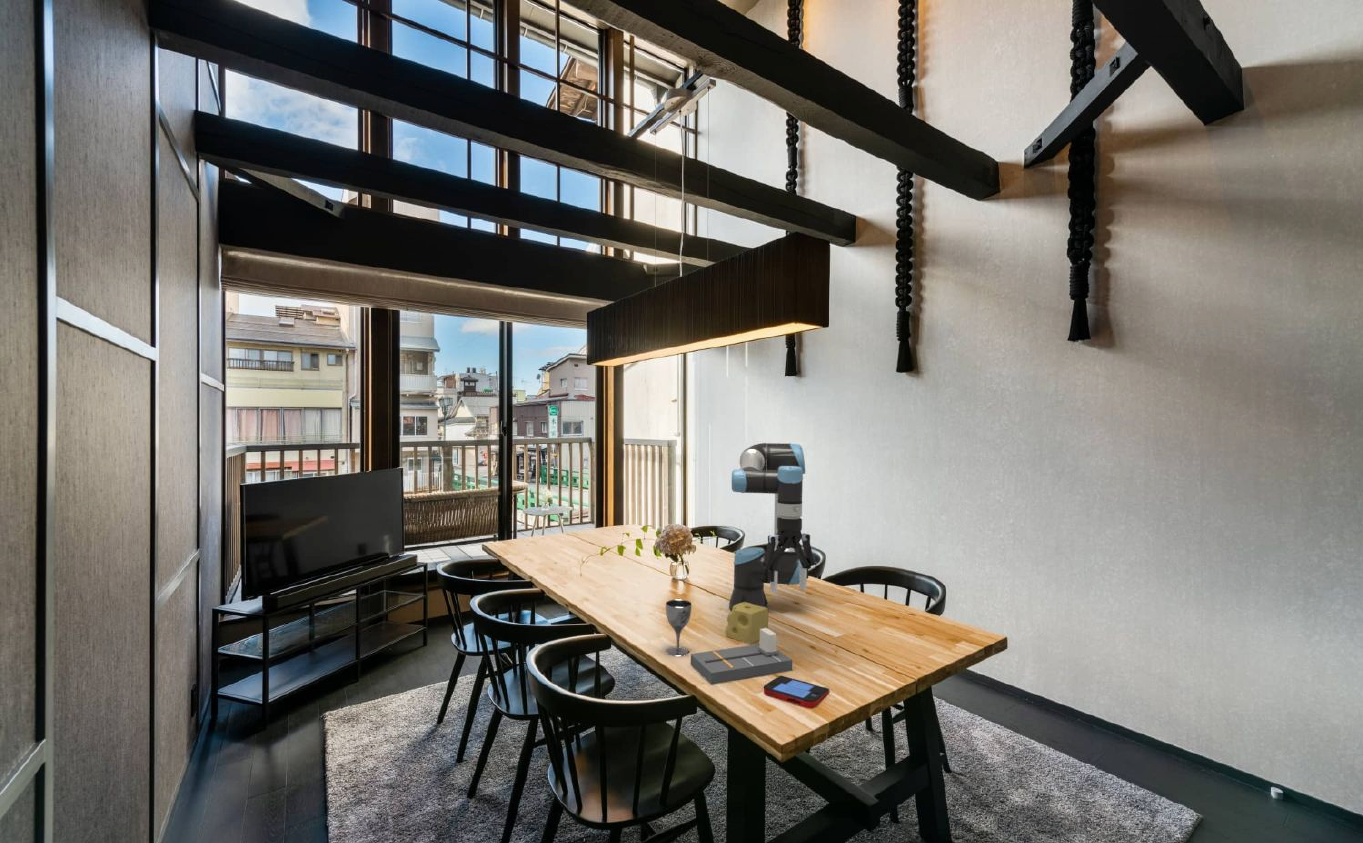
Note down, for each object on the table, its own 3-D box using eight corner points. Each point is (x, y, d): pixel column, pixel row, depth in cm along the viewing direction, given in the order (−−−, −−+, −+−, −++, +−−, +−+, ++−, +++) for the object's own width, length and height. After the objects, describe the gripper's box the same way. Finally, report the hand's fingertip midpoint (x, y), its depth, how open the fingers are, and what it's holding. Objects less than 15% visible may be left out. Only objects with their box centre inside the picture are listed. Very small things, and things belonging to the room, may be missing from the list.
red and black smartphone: (830, 693, 149) (830, 684, 149) (812, 711, 138) (812, 702, 138) (780, 678, 157) (781, 670, 157) (760, 695, 146) (760, 686, 146)
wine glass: (681, 658, 168) (682, 608, 168) (659, 652, 172) (660, 604, 173) (695, 650, 175) (696, 602, 175) (673, 644, 179) (674, 597, 179)
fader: (768, 647, 170) (768, 627, 170) (778, 654, 164) (779, 633, 165) (757, 649, 168) (757, 629, 168) (767, 656, 163) (767, 635, 163)
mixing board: (766, 652, 174) (767, 642, 174) (792, 670, 161) (792, 659, 161) (690, 664, 164) (690, 653, 164) (711, 684, 151) (711, 672, 151)
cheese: (725, 637, 187) (725, 607, 187) (744, 629, 195) (745, 600, 195) (750, 645, 180) (751, 614, 180) (769, 637, 188) (770, 607, 188)
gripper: (764, 520, 162) (762, 597, 162) (827, 517, 171) (826, 590, 170) (751, 516, 169) (749, 590, 169) (812, 514, 178) (811, 584, 177)
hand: (788, 590), depth 169 cm, fingers open, 10 cm apart
